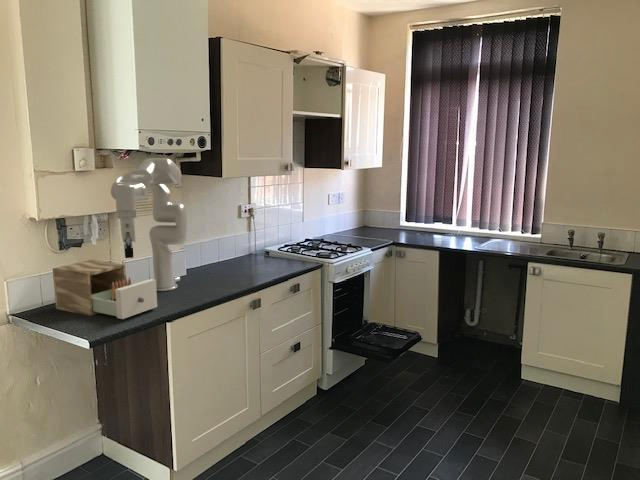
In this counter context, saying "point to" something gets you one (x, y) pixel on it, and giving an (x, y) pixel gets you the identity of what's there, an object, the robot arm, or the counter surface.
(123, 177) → the robot arm
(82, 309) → the cabinet
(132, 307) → the drawer
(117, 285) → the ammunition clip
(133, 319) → the counter surface
